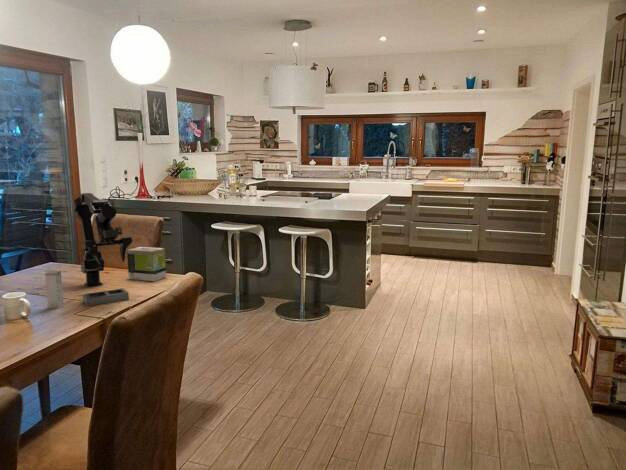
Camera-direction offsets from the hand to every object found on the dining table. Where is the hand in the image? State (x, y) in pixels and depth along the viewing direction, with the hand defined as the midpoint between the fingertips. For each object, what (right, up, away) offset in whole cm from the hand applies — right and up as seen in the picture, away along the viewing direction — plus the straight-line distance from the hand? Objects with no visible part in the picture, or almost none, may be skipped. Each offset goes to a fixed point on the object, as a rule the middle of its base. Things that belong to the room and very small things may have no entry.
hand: (112, 262), depth 198 cm
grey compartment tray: (-3, -16, 0) cm, 16 cm away
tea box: (+2, -10, +37) cm, 38 cm away
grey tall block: (-19, -17, -8) cm, 27 cm away
